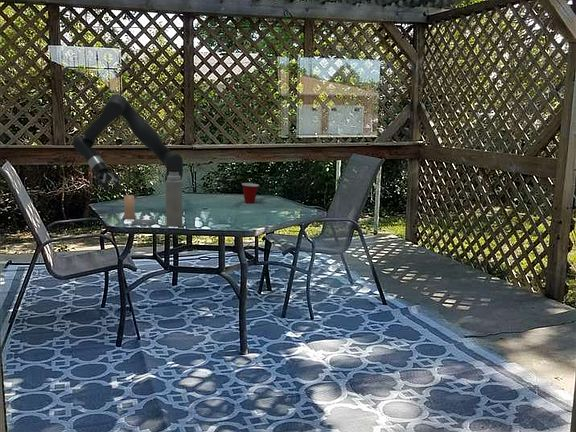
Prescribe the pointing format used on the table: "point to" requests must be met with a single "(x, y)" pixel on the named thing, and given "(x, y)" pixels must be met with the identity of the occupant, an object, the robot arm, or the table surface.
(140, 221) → the coaster
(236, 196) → the table surface
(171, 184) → the thermos bottle
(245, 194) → the plastic cup
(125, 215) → the tan tapered cylinder
